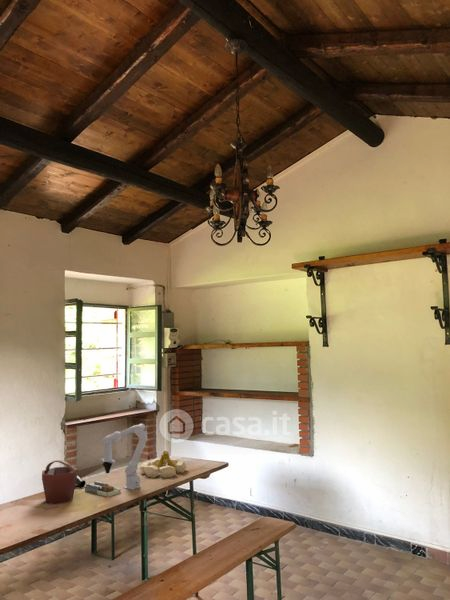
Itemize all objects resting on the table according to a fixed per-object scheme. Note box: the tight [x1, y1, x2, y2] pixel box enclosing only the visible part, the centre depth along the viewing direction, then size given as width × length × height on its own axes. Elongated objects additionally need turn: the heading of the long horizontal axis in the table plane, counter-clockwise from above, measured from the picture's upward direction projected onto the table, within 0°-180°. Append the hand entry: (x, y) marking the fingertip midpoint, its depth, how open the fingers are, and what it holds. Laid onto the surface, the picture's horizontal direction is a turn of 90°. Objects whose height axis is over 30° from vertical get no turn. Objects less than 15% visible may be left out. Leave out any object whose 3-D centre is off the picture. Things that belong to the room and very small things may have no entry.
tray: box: [96, 487, 121, 498], centre depth 316 cm, size 11×11×2 cm
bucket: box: [41, 459, 79, 505], centre depth 306 cm, size 24×22×25 cm
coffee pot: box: [75, 475, 87, 488], centre depth 331 cm, size 8×18×8 cm
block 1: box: [101, 484, 110, 492], centre depth 317 cm, size 4×4×4 cm
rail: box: [84, 480, 109, 495], centre depth 323 cm, size 14×10×4 cm
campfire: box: [139, 450, 188, 478], centre depth 369 cm, size 35×34×17 cm
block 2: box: [105, 485, 115, 493], centre depth 315 cm, size 4×4×4 cm
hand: (107, 472), depth 332 cm, fingers closed
